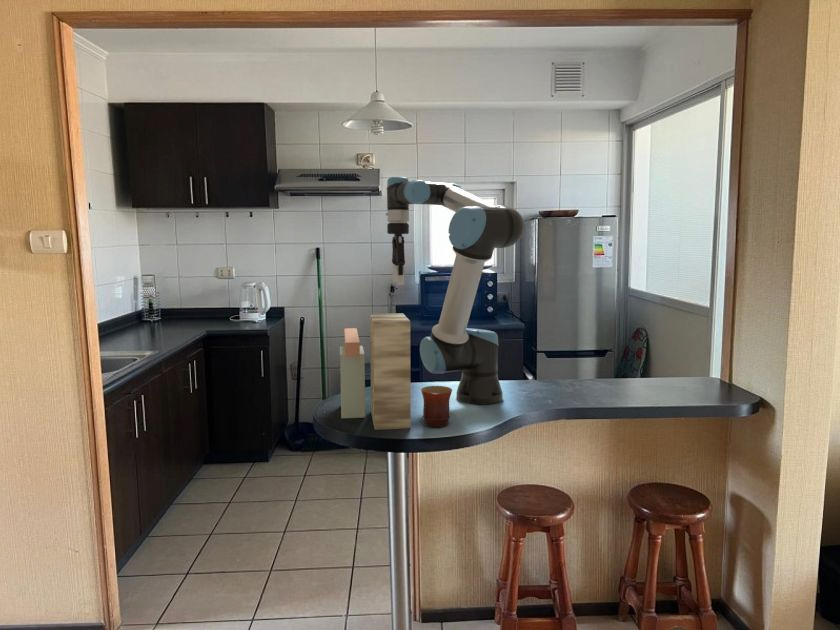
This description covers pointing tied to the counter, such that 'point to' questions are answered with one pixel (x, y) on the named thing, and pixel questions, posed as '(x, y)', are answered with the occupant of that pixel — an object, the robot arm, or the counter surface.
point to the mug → (436, 406)
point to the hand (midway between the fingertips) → (398, 283)
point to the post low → (352, 384)
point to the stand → (390, 371)
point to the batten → (352, 342)
